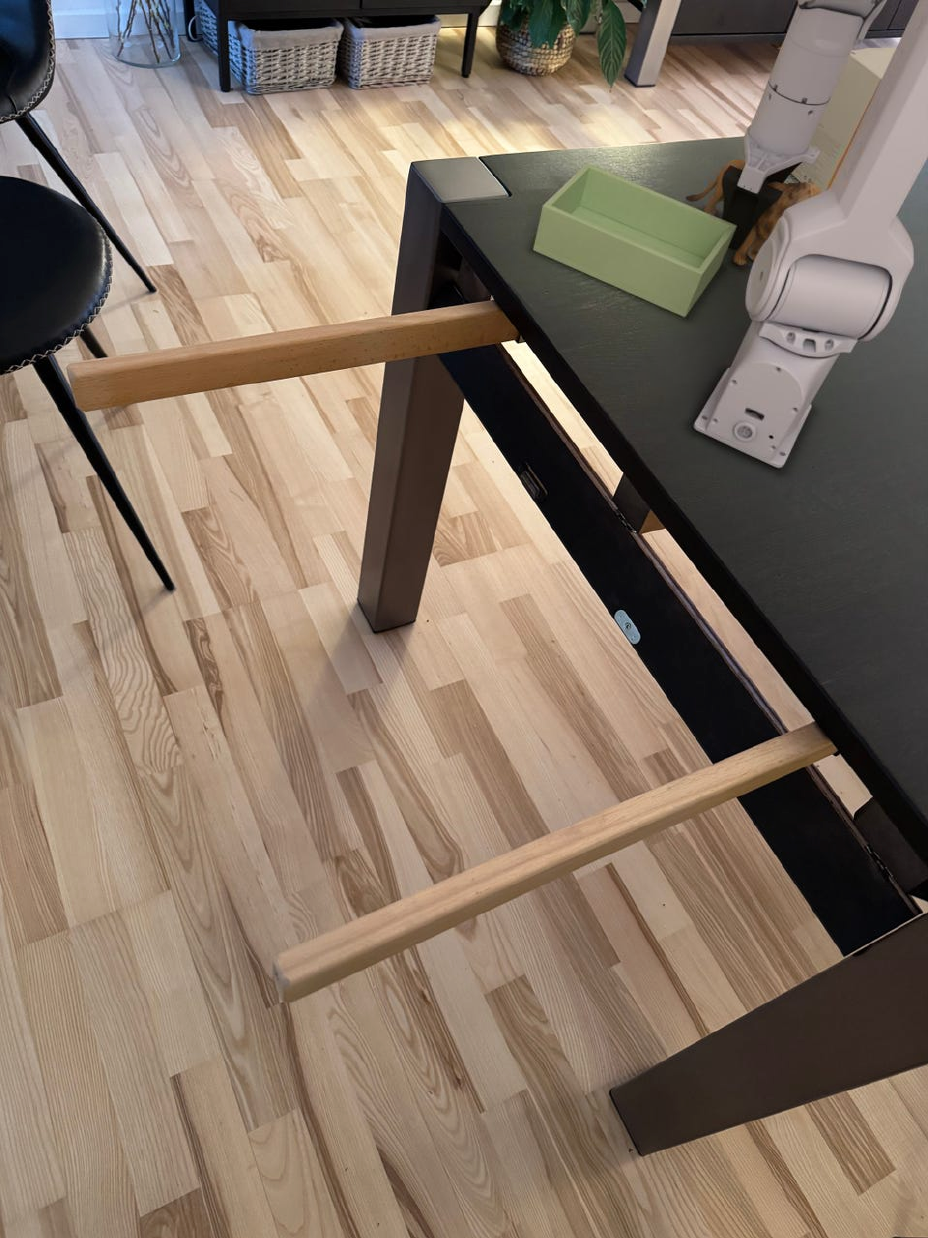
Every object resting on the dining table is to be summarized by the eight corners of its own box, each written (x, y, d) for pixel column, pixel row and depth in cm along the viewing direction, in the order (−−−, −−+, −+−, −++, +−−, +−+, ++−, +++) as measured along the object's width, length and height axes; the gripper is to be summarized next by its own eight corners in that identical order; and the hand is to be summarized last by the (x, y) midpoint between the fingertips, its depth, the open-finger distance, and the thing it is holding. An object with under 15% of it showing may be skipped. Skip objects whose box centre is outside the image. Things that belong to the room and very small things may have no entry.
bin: (684, 317, 84) (702, 274, 80) (532, 250, 87) (542, 205, 83) (719, 267, 89) (737, 225, 86) (575, 206, 92) (586, 162, 89)
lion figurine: (793, 280, 91) (844, 194, 84) (760, 286, 88) (810, 198, 81) (699, 200, 96) (739, 115, 90) (665, 204, 94) (704, 116, 87)
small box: (820, 201, 100) (881, 78, 90) (786, 171, 103) (840, 48, 93) (873, 193, 103) (937, 72, 92) (838, 163, 106) (896, 43, 95)
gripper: (820, 136, 75) (755, 278, 86) (860, 77, 83) (796, 213, 94) (743, 105, 76) (688, 249, 87) (789, 50, 84) (734, 188, 95)
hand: (739, 229), depth 91 cm, fingers open, 7 cm apart
